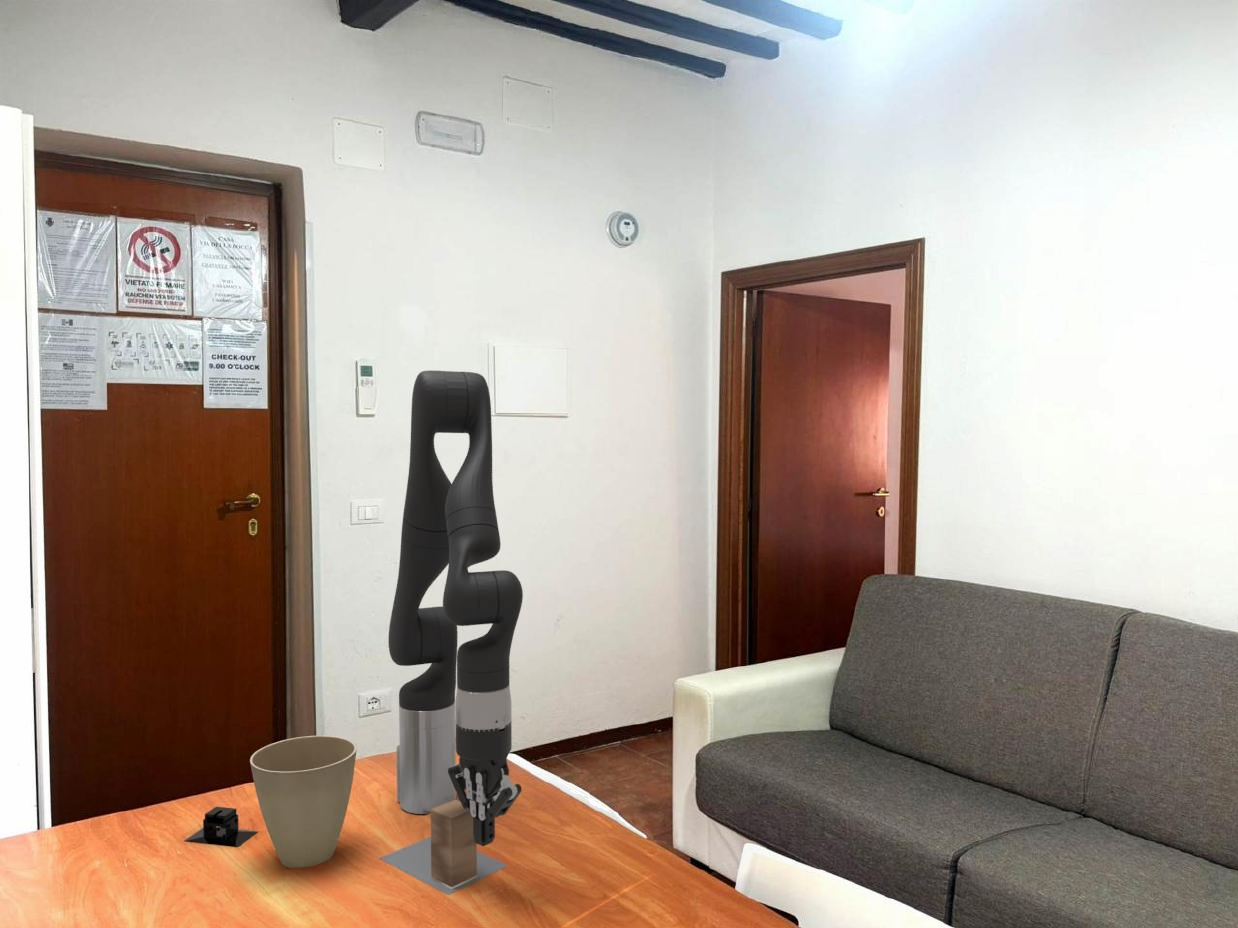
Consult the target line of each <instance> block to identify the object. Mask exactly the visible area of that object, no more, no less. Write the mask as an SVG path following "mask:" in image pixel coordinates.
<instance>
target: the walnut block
mask: <svg viewBox="0 0 1238 928" xmlns="http://www.w3.org/2000/svg"><path fill="white" fill-rule="evenodd" d="M473 830H474V829H473V816H472V815H471V813H470V810H469V809H468V808H466V809H464V808H463V806H462V804H461V802H460V800H459V799H456V800H453V801H451V802H448V803H446V804H443V805H441V806H438V807H435V808H433V809H431V813H430V837H431V879H433V880H435V881H437V882H438V883H440V884H442V885H444V886H446V887H448V888H450V889H454V888H456V887H458V886H460V885H462V884H464V883H466V882H468V881H470V880H472V879H474V878H477V849H478V846H477V845H478V844H477V843H475V841H474V835H473Z"/></svg>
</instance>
